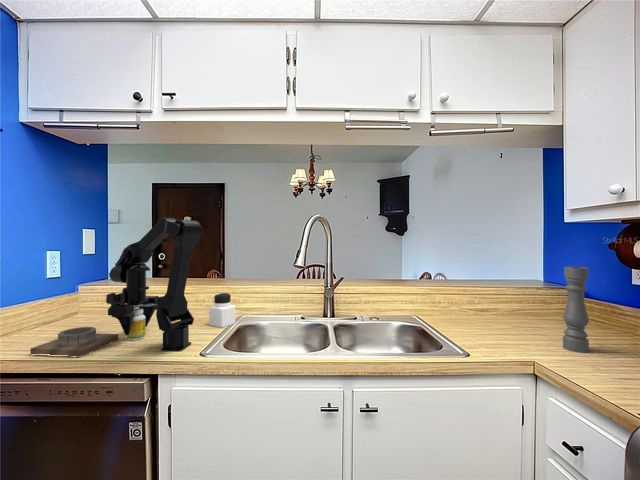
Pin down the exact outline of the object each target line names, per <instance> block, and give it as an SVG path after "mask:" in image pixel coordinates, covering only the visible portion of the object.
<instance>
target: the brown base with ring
mask: <svg viewBox="0 0 640 480" xmlns="http://www.w3.org/2000/svg"><path fill="white" fill-rule="evenodd" d="M116 340H118V341H119V334H118V333H99V332H97V328H96V327H95V326H82V327H81V326H80V327H73V328H69V329H64V330H61V331H60V332H57V339H54V340H52V341H49V342H46V343H43V344H40V345H37V346H35V347H31V348H30V355H31V354H50V355H68V356H81V355H84V354H86V353H89V352H91V351H93V352H95V351H97V350H99V349H98V348H100V347H102V348H104V347H106V346H108V345H107V344H109V343H111V342H113V343H115V342H117V341H116ZM114 341H115V342H114ZM111 344H112V343H111ZM105 345H106V346H105ZM109 345H110V344H109ZM103 346H104V347H103ZM96 349H97V350H96ZM100 349H101V348H100ZM94 350H95V351H94ZM91 353H92V352H91ZM89 354H90V353H89ZM86 355H87V354H86ZM84 356H85V355H84Z"/></svg>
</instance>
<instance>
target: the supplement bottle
mask: <svg viewBox="0 0 640 480" xmlns="http://www.w3.org/2000/svg"><path fill="white" fill-rule="evenodd" d="M132 314H135V315H134V318H133V322H132V326H131V330H130V333H129V335H126V339H127V340H128V341H139V340H138V339H140V340H143V339H145V337H146V327H145V319H146V318H145V315H143V309H141V308H138V307H137V308H134V311H133V313H132ZM142 338H143V339H142Z"/></svg>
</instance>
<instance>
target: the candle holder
mask: <svg viewBox="0 0 640 480" xmlns="http://www.w3.org/2000/svg"><path fill="white" fill-rule="evenodd" d="M563 269H564V272H563V274H564V275H563V277H564V278H565V281H566V283H567V285H566V286H565V287H564V289H566V291H567V302H566V306H565V308H564V311H563V316H562V318H563V321H564V323H565V324H566V327H567V328H566V329H565V330H564V331H563V334H564V335H562V348H563V349H565V350H567V351H569V352H574V353H580V354H581V353H583V354H587V353H589V352H590V349H589V348H590V344H589V343H590V341H589V339H588V337H589V335H588V333H587V332H586V330H585V329H586V327H587V325H588V324H589V322H590V319H589V315H588V312H587V311H588V310H587V308H586V304H585V292H587V291H588V288H587V287H586V286H585V285H586V283H587V282H588V279H589V267H584V266H564V268H563Z"/></svg>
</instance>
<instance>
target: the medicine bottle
mask: <svg viewBox="0 0 640 480" xmlns="http://www.w3.org/2000/svg"><path fill="white" fill-rule="evenodd" d="M213 297H214V299H213V300H214V303H213V304H214V305H212V306H209V307H208V308H209V309H208V311H209V312H208V324H209V326H212V327H215V328H217V327H218V328H220V329H221V328H225V327H229V326H232V325H235V324H236V305H233V304H231V301H232V300H231V297H232V296H231V294H230V293H227V292H219V293H215V295H214V296H213Z"/></svg>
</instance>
